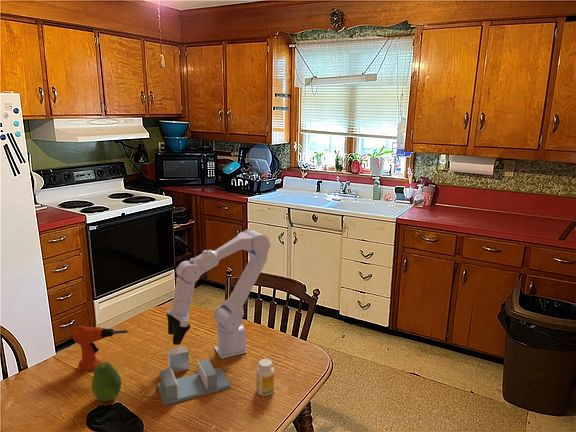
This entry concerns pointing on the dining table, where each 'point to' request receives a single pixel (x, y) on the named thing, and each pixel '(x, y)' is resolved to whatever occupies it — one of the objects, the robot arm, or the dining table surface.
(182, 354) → the steel block
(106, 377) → the avocado
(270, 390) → the supplement bottle
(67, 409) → the dining table surface
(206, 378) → the block
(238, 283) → the robot arm
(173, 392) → the base
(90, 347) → the toy drill
